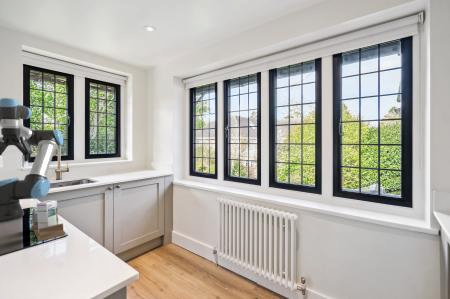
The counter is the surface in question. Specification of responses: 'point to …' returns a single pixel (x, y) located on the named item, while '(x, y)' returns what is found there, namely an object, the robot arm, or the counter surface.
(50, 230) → the book rack
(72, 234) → the counter surface
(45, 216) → the syrup box
